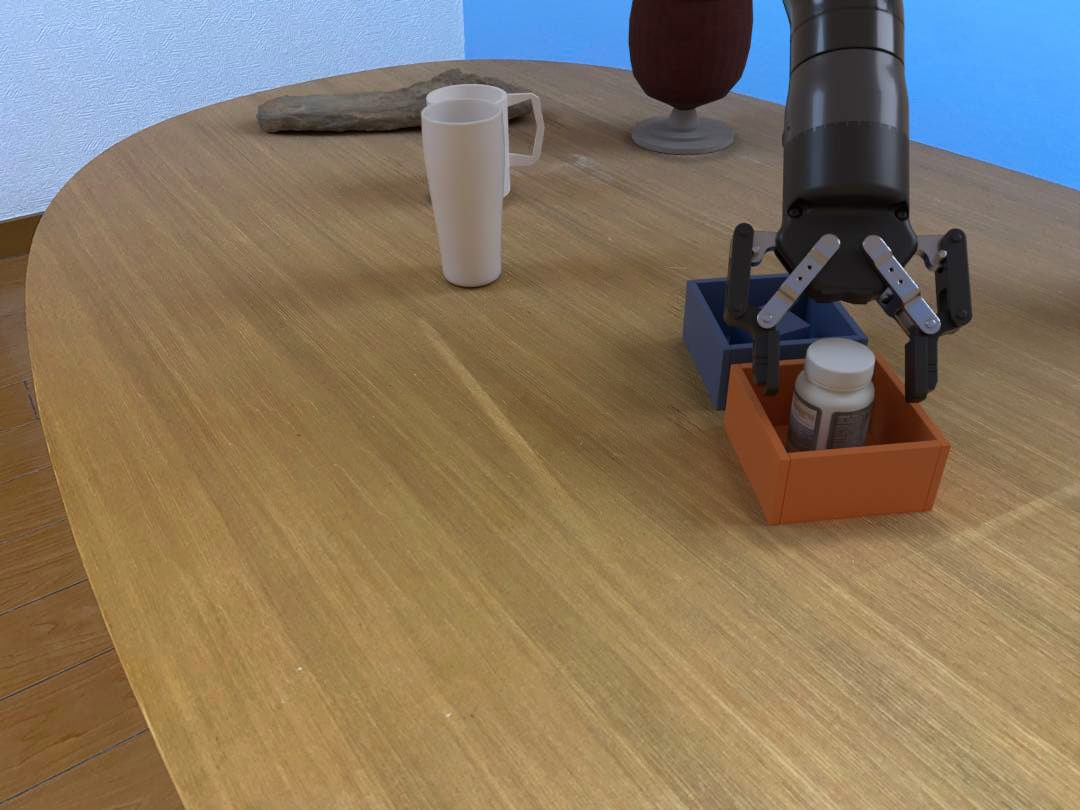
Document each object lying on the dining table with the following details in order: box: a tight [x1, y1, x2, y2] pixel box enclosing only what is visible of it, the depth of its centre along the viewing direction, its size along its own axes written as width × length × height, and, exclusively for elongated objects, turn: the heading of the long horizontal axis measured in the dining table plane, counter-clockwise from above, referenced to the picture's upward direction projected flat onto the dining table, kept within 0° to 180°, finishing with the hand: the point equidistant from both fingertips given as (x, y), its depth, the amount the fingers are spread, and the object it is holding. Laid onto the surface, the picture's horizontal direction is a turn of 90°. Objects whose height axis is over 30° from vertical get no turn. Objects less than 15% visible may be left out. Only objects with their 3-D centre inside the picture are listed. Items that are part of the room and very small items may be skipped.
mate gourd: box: [627, 0, 754, 156], centre depth 108 cm, size 16×14×20 cm
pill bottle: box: [785, 338, 875, 454], centre depth 59 cm, size 5×5×8 cm
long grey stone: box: [255, 67, 534, 133], centre depth 119 cm, size 35×5×10 cm
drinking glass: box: [420, 98, 505, 288], centre depth 80 cm, size 7×7×15 cm
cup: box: [426, 84, 546, 198], centre depth 98 cm, size 8×12×10 cm
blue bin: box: [681, 272, 869, 411], centre depth 69 cm, size 10×10×6 cm
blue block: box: [729, 305, 810, 345], centre depth 69 cm, size 4×4×4 cm
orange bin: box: [723, 352, 952, 527], centre depth 60 cm, size 10×10×6 cm
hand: (843, 397), depth 56 cm, fingers open, 8 cm apart
